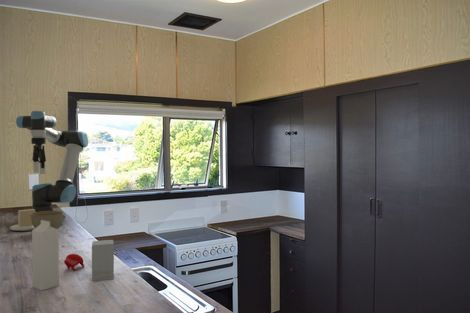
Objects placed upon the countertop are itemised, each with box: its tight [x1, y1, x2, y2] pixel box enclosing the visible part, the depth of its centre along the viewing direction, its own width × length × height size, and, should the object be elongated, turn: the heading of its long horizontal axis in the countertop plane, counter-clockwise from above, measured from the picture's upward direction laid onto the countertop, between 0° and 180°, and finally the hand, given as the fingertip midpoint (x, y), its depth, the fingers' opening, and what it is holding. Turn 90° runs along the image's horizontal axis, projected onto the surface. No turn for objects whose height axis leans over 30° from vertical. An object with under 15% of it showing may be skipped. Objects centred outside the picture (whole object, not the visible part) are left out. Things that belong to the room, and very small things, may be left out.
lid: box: [9, 208, 35, 232], centre depth 226 cm, size 17×17×10 cm
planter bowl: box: [31, 210, 64, 230], centre depth 215 cm, size 16×16×11 cm
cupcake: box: [58, 205, 66, 226], centre depth 236 cm, size 9×8×12 cm
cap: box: [63, 253, 85, 272], centre depth 150 cm, size 8×6×6 cm
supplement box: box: [91, 239, 115, 282], centre depth 140 cm, size 7×7×13 cm
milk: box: [31, 220, 60, 291], centre depth 131 cm, size 6×6×22 cm
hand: (39, 173), depth 232 cm, fingers open, 13 cm apart
